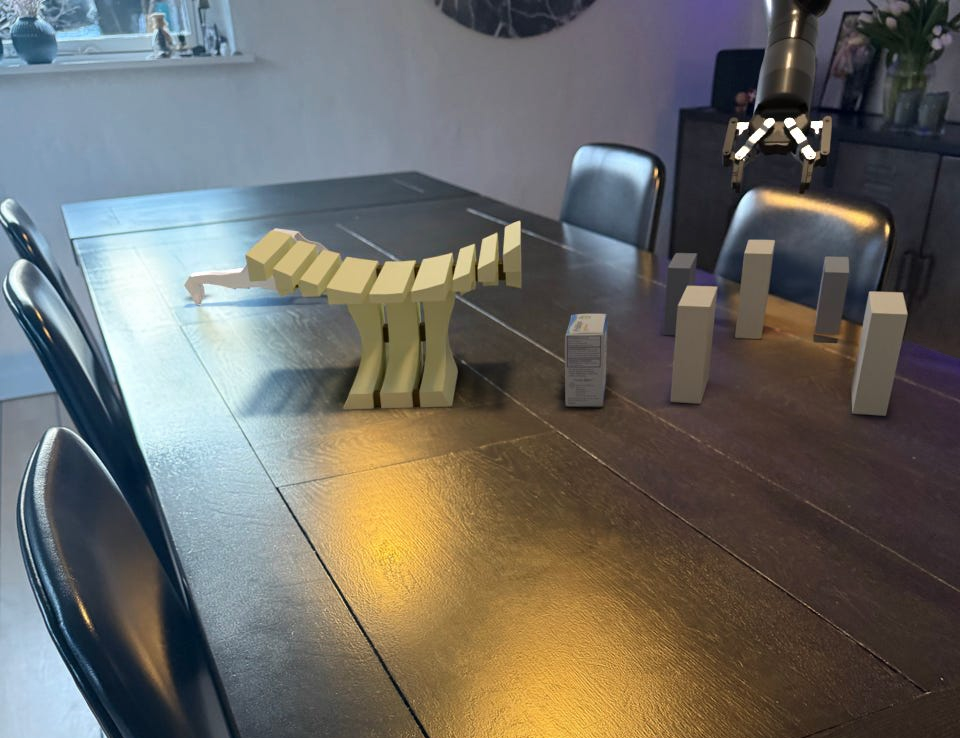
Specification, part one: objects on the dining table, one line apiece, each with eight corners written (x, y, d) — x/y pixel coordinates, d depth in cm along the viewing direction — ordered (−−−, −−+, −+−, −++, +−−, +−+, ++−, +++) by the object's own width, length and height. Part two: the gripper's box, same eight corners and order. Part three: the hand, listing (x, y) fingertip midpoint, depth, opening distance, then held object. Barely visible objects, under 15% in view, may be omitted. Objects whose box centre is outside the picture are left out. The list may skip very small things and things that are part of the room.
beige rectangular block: (734, 338, 127) (744, 252, 120) (739, 321, 133) (748, 239, 127) (761, 339, 126) (772, 253, 119) (764, 322, 132) (775, 239, 126)
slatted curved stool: (522, 360, 123) (520, 215, 112) (523, 404, 109) (520, 244, 99) (299, 367, 124) (276, 224, 114) (273, 411, 111) (245, 254, 101)
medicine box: (602, 408, 107) (605, 333, 102) (564, 408, 108) (564, 332, 103) (606, 385, 114) (608, 312, 109) (569, 384, 114) (570, 312, 109)
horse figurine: (331, 348, 159) (186, 295, 155) (357, 253, 150) (204, 195, 146) (326, 357, 155) (178, 303, 151) (353, 260, 146) (195, 200, 142)
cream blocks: (670, 402, 108) (677, 305, 102) (679, 377, 115) (687, 285, 108) (885, 416, 102) (907, 314, 96) (882, 389, 108) (902, 292, 102)
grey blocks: (662, 335, 129) (667, 267, 124) (670, 317, 136) (675, 252, 130) (837, 343, 123) (849, 272, 118) (836, 324, 129) (848, 256, 124)
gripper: (733, 66, 128) (717, 171, 126) (842, 63, 125) (827, 171, 122) (732, 106, 136) (717, 206, 133) (835, 104, 132) (821, 207, 129)
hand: (769, 189), depth 128 cm, fingers open, 8 cm apart
